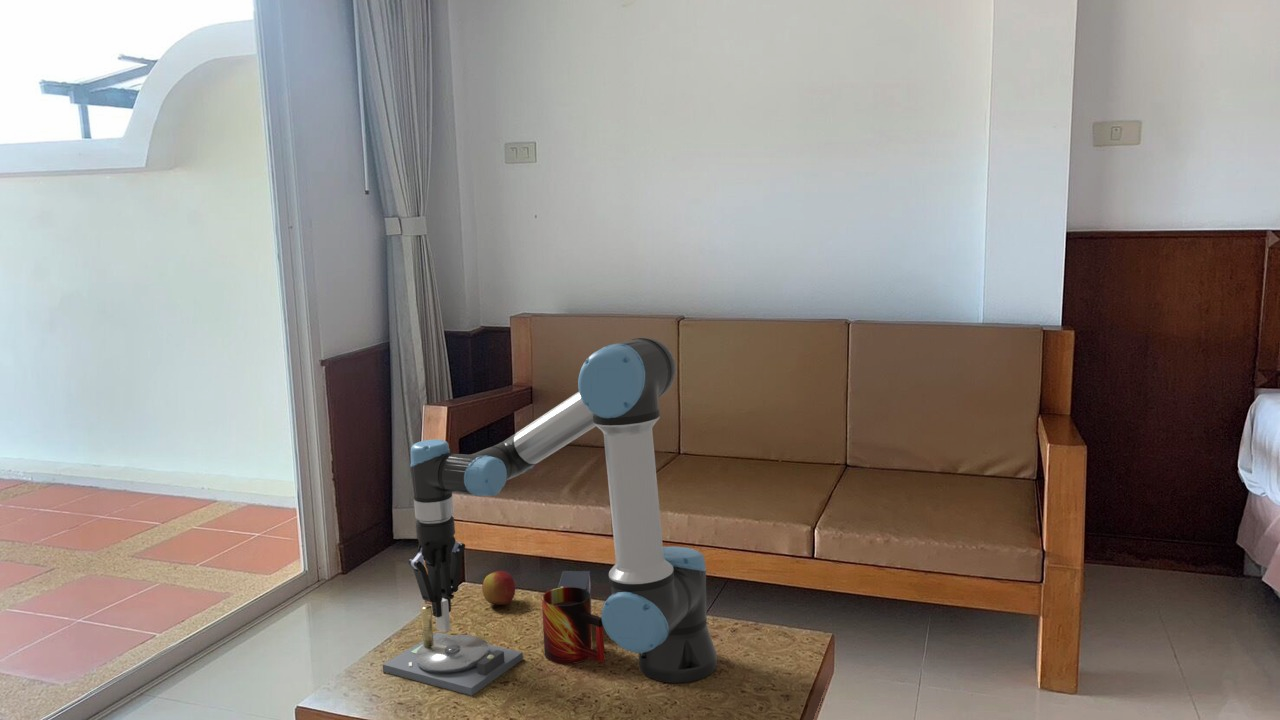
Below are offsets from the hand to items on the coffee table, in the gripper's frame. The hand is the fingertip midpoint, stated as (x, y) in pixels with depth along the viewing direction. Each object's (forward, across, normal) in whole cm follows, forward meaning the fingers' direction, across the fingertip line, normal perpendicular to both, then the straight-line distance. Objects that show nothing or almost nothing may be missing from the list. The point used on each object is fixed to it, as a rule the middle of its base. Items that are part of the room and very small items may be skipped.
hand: (443, 629), depth 188 cm
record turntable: (+5, +3, +6) cm, 8 cm away
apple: (+6, -23, -8) cm, 25 cm away
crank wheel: (+3, +3, +6) cm, 7 cm away
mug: (+5, -15, +23) cm, 28 cm away
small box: (+6, -25, +14) cm, 29 cm away
